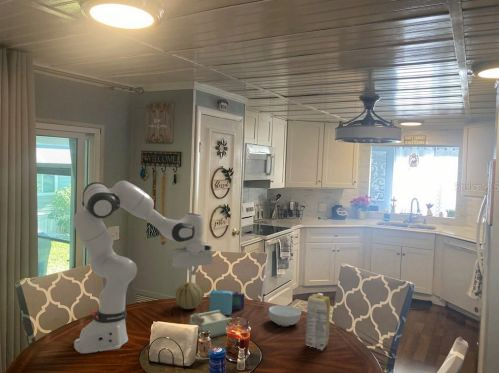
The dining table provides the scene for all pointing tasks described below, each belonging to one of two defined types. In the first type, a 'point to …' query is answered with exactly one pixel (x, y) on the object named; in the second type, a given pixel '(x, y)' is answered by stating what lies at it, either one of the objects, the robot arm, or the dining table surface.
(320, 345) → the juice carton
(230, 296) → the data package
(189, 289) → the cantaloupe
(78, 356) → the dining table surface
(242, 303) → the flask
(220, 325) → the box
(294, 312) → the cereal bowl
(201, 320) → the cover plate
